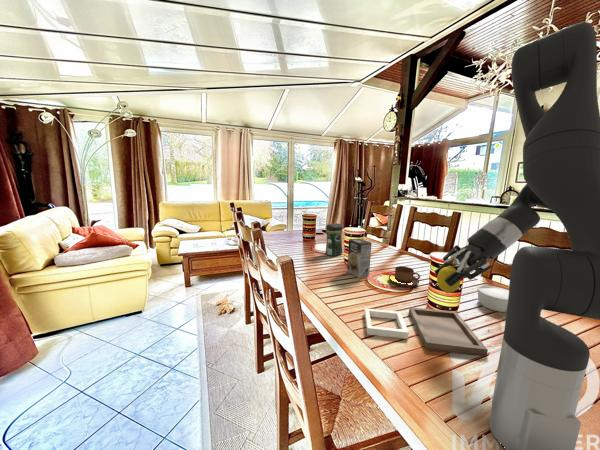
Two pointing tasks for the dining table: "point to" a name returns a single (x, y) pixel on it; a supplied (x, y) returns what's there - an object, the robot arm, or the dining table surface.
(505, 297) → the ramekin
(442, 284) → the lemon
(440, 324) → the walnut tray
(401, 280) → the cup and saucer
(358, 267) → the coffee box
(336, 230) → the coffee jar
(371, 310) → the holder frame
